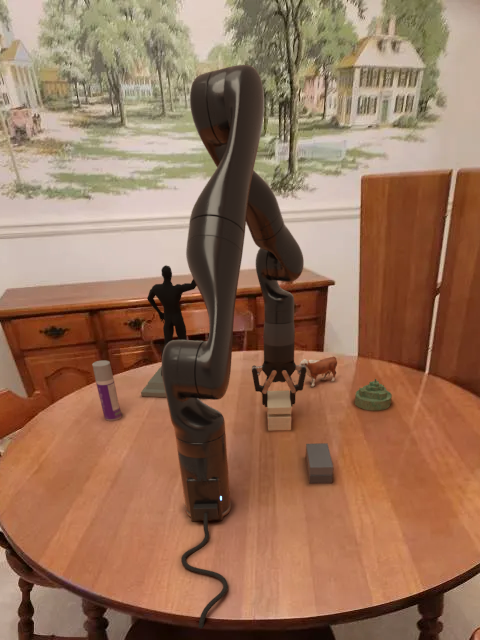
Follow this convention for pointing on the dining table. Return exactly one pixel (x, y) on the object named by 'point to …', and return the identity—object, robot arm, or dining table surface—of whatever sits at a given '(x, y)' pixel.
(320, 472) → the grey stack
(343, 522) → the dining table surface
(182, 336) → the statue
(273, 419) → the small cream box
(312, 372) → the bull figurine
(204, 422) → the robot arm
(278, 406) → the beige rectangular block
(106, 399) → the container
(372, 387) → the decorative artifact
